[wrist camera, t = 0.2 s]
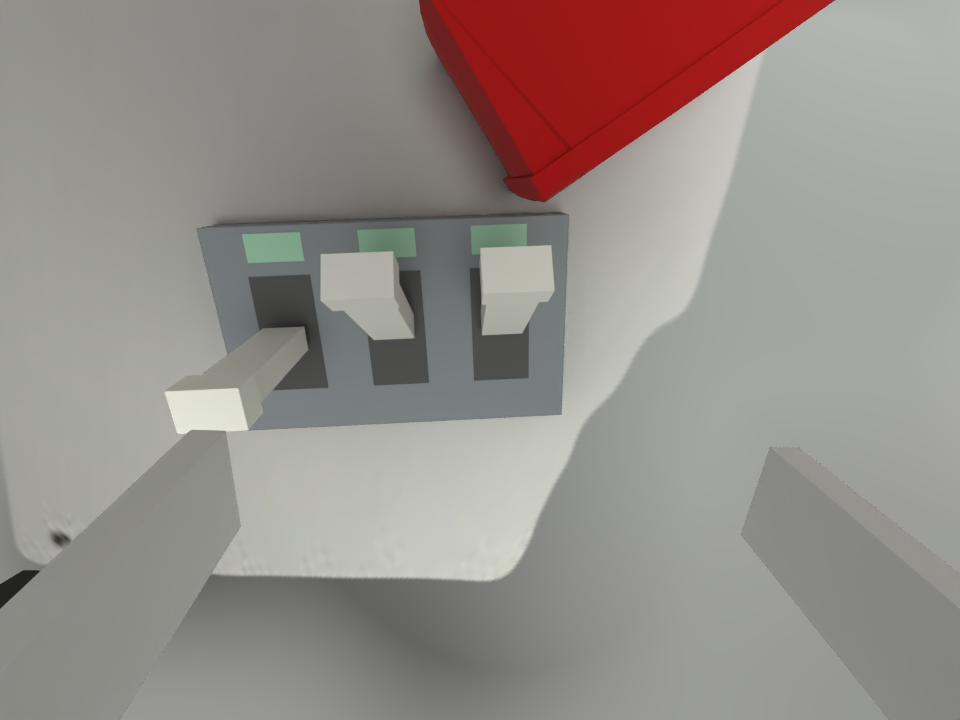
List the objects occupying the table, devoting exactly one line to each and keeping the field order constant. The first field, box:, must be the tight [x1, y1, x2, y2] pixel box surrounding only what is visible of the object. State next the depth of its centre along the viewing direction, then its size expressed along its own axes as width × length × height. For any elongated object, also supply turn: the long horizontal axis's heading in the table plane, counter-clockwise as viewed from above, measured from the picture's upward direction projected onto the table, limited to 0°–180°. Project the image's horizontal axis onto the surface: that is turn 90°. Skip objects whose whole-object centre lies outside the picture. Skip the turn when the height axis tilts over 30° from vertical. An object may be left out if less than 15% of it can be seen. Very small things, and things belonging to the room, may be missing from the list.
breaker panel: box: [197, 212, 569, 431], centre depth 37 cm, size 16×26×3 cm, turn 92°
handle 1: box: [321, 251, 415, 340], centre depth 29 cm, size 2×4×12 cm
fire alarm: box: [419, 0, 835, 202], centre depth 25 cm, size 16×11×15 cm
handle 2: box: [479, 245, 555, 335], centre depth 29 cm, size 2×4×12 cm
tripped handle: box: [165, 327, 308, 434], centre depth 29 cm, size 2×4×12 cm, turn 92°
